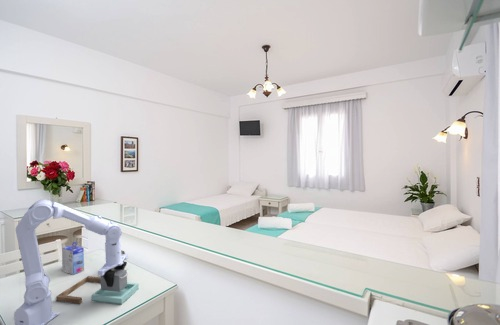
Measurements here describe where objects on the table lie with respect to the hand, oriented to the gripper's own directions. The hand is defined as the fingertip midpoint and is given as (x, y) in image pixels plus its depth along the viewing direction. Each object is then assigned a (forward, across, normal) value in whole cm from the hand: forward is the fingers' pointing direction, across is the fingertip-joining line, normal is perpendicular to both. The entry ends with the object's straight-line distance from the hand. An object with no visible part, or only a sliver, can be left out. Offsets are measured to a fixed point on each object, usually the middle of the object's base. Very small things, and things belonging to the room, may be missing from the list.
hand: (114, 282), depth 98 cm
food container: (+6, +17, +12) cm, 22 cm away
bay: (+5, 0, +15) cm, 16 cm away
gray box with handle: (+2, 0, 0) cm, 2 cm away
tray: (+5, 0, 0) cm, 5 cm away
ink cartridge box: (+6, +14, +36) cm, 39 cm away
